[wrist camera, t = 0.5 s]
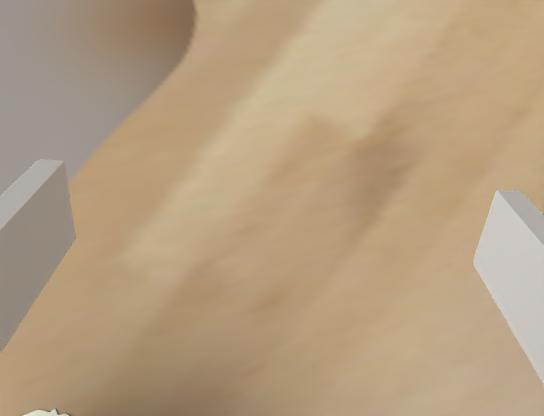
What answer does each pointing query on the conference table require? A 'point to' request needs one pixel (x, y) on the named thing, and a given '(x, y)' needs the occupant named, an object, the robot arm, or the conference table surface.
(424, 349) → the conference table surface
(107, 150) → the conference table surface
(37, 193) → the robot arm
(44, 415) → the decorative vase
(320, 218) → the conference table surface
